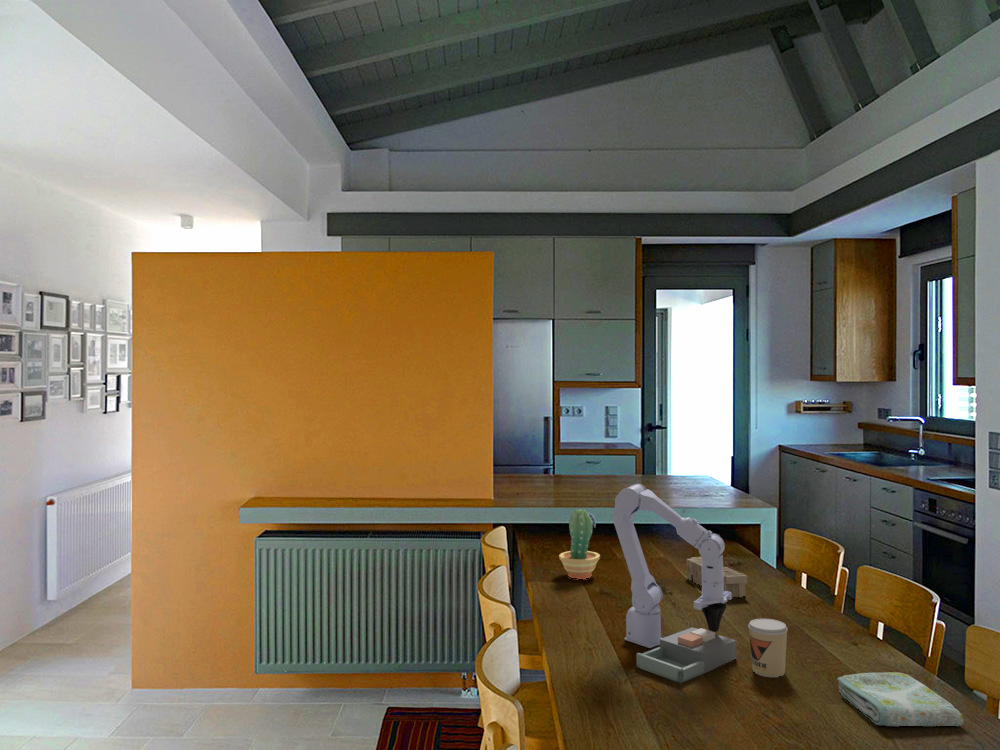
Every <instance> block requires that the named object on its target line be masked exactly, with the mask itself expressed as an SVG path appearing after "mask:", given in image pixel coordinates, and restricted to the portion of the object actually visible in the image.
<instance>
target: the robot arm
mask: <svg viewBox="0 0 1000 750" xmlns="http://www.w3.org/2000/svg"><path fill="white" fill-rule="evenodd" d="M614 502H615V505H614V509H613V513H612V522H613V525H614V527H615V530H616V534H617V538H618V540H619V543H620V546H621V549H622V553H623V556H624V559H625V562H626V565H627V569H628V571H629V574H630V579H631V585H630V591H631V595H632V596H631V604H632V606H631V607H630V608H629V609H628V610H627V613H626V616H625V626H626V627H625V629H626V630H625V631H626V632H625V633H626V634H625V635H626V636H625V637H624V640H625V641H627V642H630V643H634V644H636V645H639V646H643V647H645V648H648V649H653V648H656V647H657V646H660V639H662V638H663V637H662V627H661V624H662V623H661V621H662V619H661V618H662V617H661V613H662V612H661V607H660V603H661V602H662V599H663V590H662V588H661V587H660V586H659V584H657V582H656V579H655V577H654V576H653V575H652V574H651V573H650V570H649V567H648V564H647V561H646V557H645V555H644V552H643V549H642V546H641V543H640V540H639V536H638V533H637V530H636V527H635V525H634V521H633V519H634V518H635V516H636V514H637V513H638V510H639V511H648V512H649V511H650V512H653V513H654V514H656V515H657V516H659V517H660V518H662V519H663V520H664V521H665V522H667V523H669V524H670V525H671V526H672V527H674V528H675V530H676V535H678V536H679V537H681V538H682V539H683V540H684V541H686V542H687V543H688V544H690V545H691V546H693V547H694V548H695V549H697V550H698V553H699V555H700V557H702V564H701V565H702V587H701V596H700V597H698V599H696V600H694V601H693V609H694V610H698V611H701V612H702V613H703V615H704V618H705V621H706V623H707V627H708V630H709V631H712V632H715V633H717V632H719V629H720V625H721V620H722V617H723V615H724V613H725V611H726V609H727V604H725V603H727V602H728V600H729V601H730V600H732V599H733V598H732V593H731V592H728V591H724V578H723V567H724V562H723V561H724V558H723V556H724V555H723V552H724V551H725V548H726V547H725V545H726V544H725V542H724V539H723V538H722V537H721V536H720V534H717V533H713V531H711V530H708V529H706V528H705V527H703V526H702V525H700V523H698V522H699V520H698V519H696V518H691V517H690V516H689V517H682V516H681V515H680V514H679V513H678V512H677V511H676V510H674V509H673V508H672V507H671V506H670V505H668V504H667V503H666V502H664V500H662V499H661V498H659V497H658V495H656V494H655V493H654V492H653V491H652V490H650V489H648V488H646V487H645V486H644V485H643V484H641V483H635V484H632V485H630V486H629V487H625V488H622V489H621V490H620V491H619V492H618V494H617V495H616V497H615V498H614Z"/></svg>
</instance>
